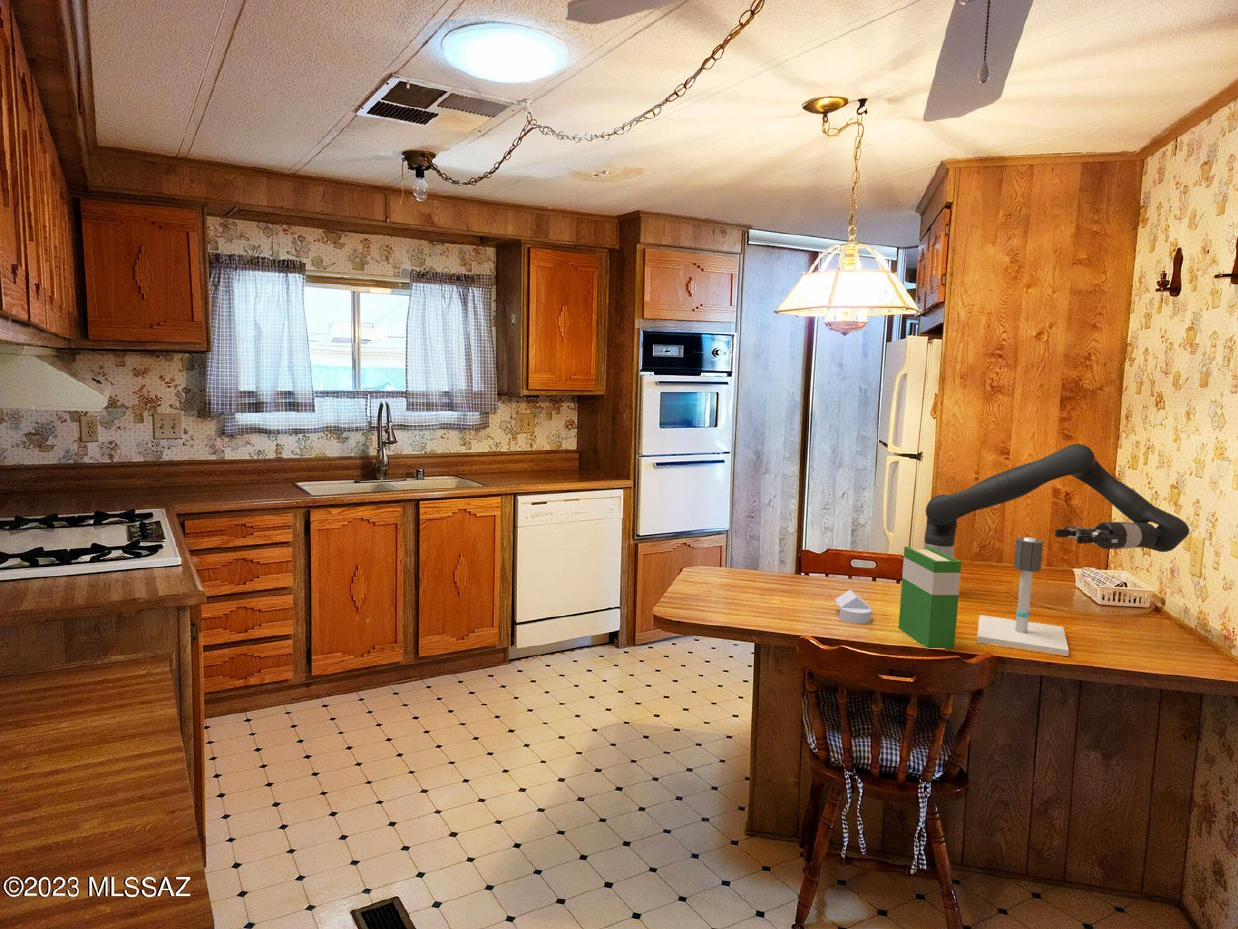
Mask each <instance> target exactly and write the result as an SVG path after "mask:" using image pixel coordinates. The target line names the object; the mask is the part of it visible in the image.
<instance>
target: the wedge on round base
mask: <svg viewBox="0 0 1238 929" xmlns="http://www.w3.org/2000/svg"><path fill="white" fill-rule="evenodd" d="M834 600H835V602H836V604H837V605H838V607H839V620H841V621H842V622H846V623H849V624H853V623H857V624H856V625H867V624H870V623H871V622H872V608H871V607H870V606H869V604H867V601H866V600H865V599H863V598H862V597H860V596H859V595H858V594H857V593H855V592H854V591H853V590H852V589H849V590H847V591H846V592H844V593H843V594H841V595H839V596H838V597H837V598H835V599H834ZM869 622H870V623H869ZM866 623H867V624H866Z"/></svg>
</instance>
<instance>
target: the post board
mask: <svg viewBox="0 0 1238 929" xmlns="http://www.w3.org/2000/svg"><path fill="white" fill-rule="evenodd" d="M1023 538H1024V541H1029V542H1036V539H1037V538H1035V537H1023ZM1033 573H1034V572H1031V571H1023V570H1020V575H1019V586H1018V588H1019V589H1018V596H1017V599H1018V600H1017V609H1016V611H1015V612H1016V613H1015V616H1016V618H1015V619H1010V618H1005V617H1004V618H1002V617H998V616H997V617H996V616H990V615H989V616H988V615H981V614H978V615H979V618H978V625H977V626H978V628H977V637H976V644H978V643H984V644H983V645H985V644H996V645H1002V646H1008V647H1015V648H1024V649H1029V650H1034V651H1041V652H1047V653H1051V654H1061V655H1064V656H1068V657H1069V646H1068V642H1067V638H1066V633H1065V629H1064V626H1060V625H1059V626H1058V625H1052V624H1045V623H1039V622H1031V621H1029V618H1030V615H1031V614H1030V613H1031V611H1030V606H1031V596H1032V594H1031V593H1032V585H1033V575H1034V574H1033Z"/></svg>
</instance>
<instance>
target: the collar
mask: <svg viewBox="0 0 1238 929" xmlns="http://www.w3.org/2000/svg"><path fill="white" fill-rule="evenodd" d="M1024 538H1025V537H1017V538H1016V539H1015V549H1014V557H1013V558H1014V560H1013V568H1014V569H1016V570H1019V571H1021V570H1023V571H1031V572H1033V573H1034V572H1041V568H1042V559H1043V558H1042V557H1043V547H1044V541H1043V540H1040V539H1037V538H1035V539H1036V542H1029V541H1024Z"/></svg>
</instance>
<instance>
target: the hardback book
mask: <svg viewBox="0 0 1238 929" xmlns="http://www.w3.org/2000/svg"><path fill="white" fill-rule="evenodd" d="M903 550H904V551H903V563H902V564H903V565H902V577H901V591H900V593H901V594H900V600H899V601H900V604H899V605H900V606H899V616H898V617H899V618H898V629H899V630H900V631H901V630H902V631H901V632H903V633H904V632H905V633H906V635H907V634H908V635H909V636H908V635H907V636H908V637H910V638H911V637H912V638H913V639H912V638H911V639H912V640H914V641H915V640H916V641H917V642H916V641H915V642H916V643H918V644H919V643H920V644H923V645H924V646H925V647H927V648H945V649H954V650H955V646H956V645H955V643H956V633H957V622H958V621H957V619H958V609H959V598H960V597H959V596H960V584H961V582H960V581H961V573H962V571H961V570H962V560H959V559H956V558H954V557H953V558H952V557H950V556H948V555H946V554H944V553H942V552H940V551H937V550H935V549H933V548H931V547H926V549H924V548H923V549H916V548H915V549H914V548H911V547H910V546H904V549H903ZM905 633H904V634H905ZM920 644H919V645H920ZM925 647H924V648H925Z"/></svg>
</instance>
